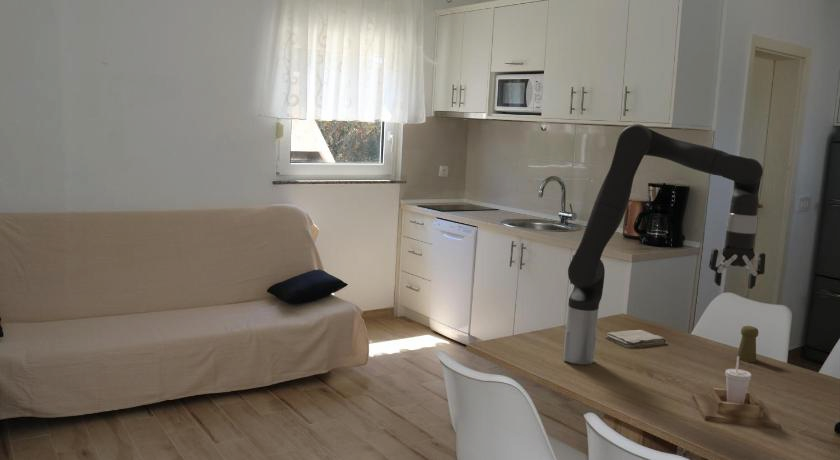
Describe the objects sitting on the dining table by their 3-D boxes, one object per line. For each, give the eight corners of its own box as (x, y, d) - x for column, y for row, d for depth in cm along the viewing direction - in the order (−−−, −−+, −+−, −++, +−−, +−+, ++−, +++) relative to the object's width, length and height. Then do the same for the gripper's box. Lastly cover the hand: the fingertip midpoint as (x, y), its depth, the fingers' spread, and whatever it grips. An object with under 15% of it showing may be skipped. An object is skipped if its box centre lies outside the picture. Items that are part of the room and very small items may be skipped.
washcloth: (603, 339, 253) (604, 331, 252) (641, 335, 261) (642, 326, 261) (627, 350, 242) (628, 341, 242) (666, 345, 251) (667, 336, 250)
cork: (758, 363, 235) (762, 330, 233) (738, 360, 236) (742, 328, 234) (753, 357, 241) (757, 325, 239) (734, 355, 242) (738, 323, 240)
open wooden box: (704, 420, 186) (706, 404, 185) (692, 397, 201) (693, 382, 201) (779, 428, 183) (781, 412, 182) (760, 404, 198) (762, 390, 198)
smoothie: (717, 402, 195) (722, 352, 193) (740, 403, 195) (746, 353, 193) (728, 412, 189) (734, 360, 186) (752, 412, 189) (758, 361, 187)
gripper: (717, 230, 200) (710, 287, 202) (772, 234, 197) (764, 292, 200) (711, 226, 207) (704, 281, 210) (764, 230, 205) (757, 286, 207)
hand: (734, 286), depth 205 cm, fingers open, 8 cm apart
